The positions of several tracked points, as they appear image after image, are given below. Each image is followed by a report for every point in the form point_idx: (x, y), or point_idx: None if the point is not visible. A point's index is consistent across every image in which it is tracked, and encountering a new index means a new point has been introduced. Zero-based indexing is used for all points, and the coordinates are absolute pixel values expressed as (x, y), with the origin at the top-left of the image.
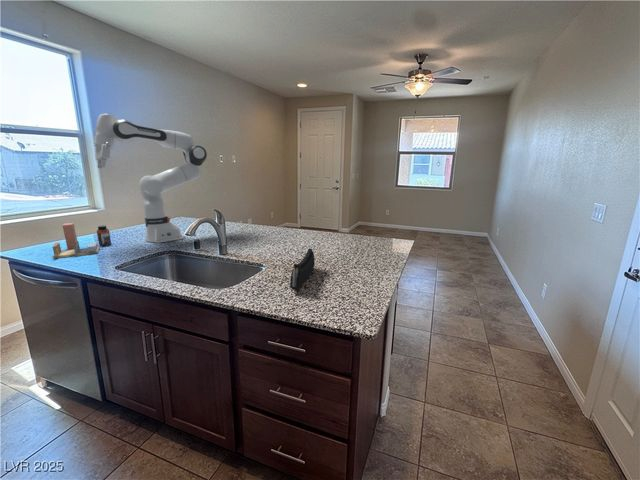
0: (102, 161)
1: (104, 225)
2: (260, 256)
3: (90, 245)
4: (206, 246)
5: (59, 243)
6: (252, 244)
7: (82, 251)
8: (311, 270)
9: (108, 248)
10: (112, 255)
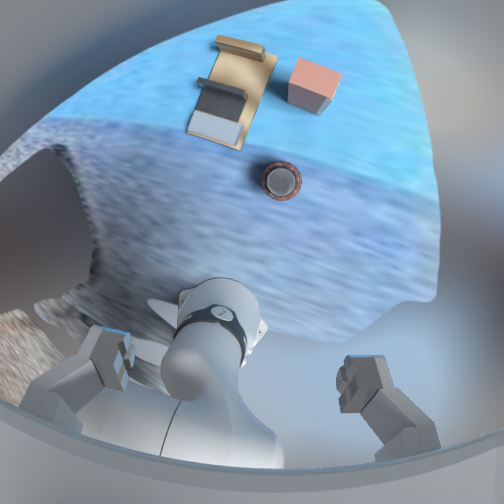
0: (52, 378)
1: (281, 191)
2: (13, 338)
3: (206, 120)
4: None
5: (259, 53)
6: None
7: (206, 100)
8: None
9: (223, 169)
10: (143, 158)
